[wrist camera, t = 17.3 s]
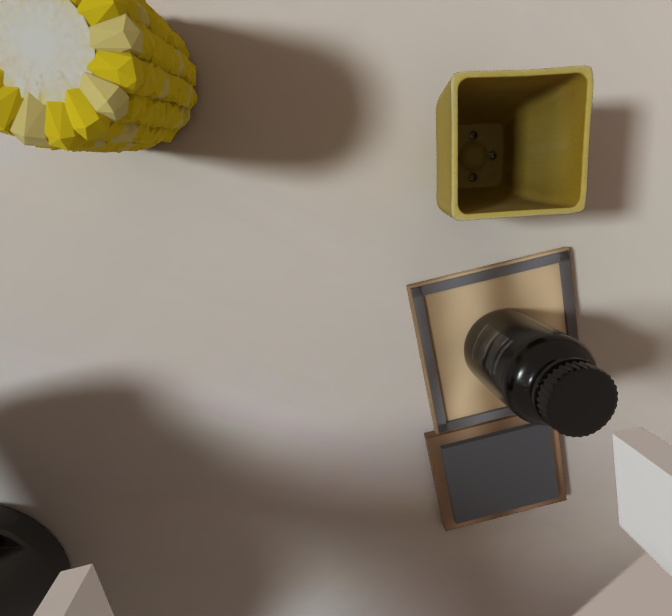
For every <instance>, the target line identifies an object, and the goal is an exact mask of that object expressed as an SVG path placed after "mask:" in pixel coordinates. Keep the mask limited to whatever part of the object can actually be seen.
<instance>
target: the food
mask: <svg viewBox="0 0 672 616" xmlns="http://www.w3.org/2000/svg"><path fill="white" fill-rule="evenodd" d="M189 56H190V53H189V52H188V50H187V48H186V43H185V42H184V41H183V40H182V39H181V37H180V36H179V35H178V34H177V33H176V32H173V30H172V29H171V27H170V26H169V25H168V24H167V23H166V21H165V20H164V19H163V18H162V17H161V16H159V15H158V14H157V13H156V12H155V11H154V9H152V8H151V7H150V6H149V5H148V4H147V3H146V1H145V0H0V132H1V133H5V134H9V135H13V136H16V137H17V138H18V139H19V140H20V141H21V142H22V143H23V144H24V145H32V146H36V147H40V148H50V149H51V150H58V149H64V150H67V151H69V150H71V151H73V152H76V151H79V152H80V151H87V152H89V151H90V152H118V153H120V152H122V151H138V150H143V149H148V148H151V147H153V146H156V144H158V143H160V142H168V143H171V141H172V139H173V138H174V136H175V134H176V133H177V131H178V130H179V129H180V128H182V127H183V126H185V125H186V124H187V122H188V121H189V120H190V119H191V117H190V110H191V109H192V107H193V106H194V105H195V103H196V102H197V98H198V96H197V94H196V92H195V89H194V87H193V86H196V66H195V65H194V64H193V63H192V62H191V61H190V60H189V59H188V58H189Z"/></svg>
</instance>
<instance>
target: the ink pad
mask: <svg viewBox="0 0 672 616" xmlns="http://www.w3.org/2000/svg"><path fill="white" fill-rule="evenodd" d="M440 450H441V455H442V460H443V465H444V470H445V475H446V481H447V486H448V491H449V496H450V501H451V506H452V512H453V517H454V521H455V523H456V524H458V523H462V522H466V521H470V520H474V519H478V518H481V517H485V516H489V515H493V514H497V513H501V512H505V511H509V510H513V509H517V508H520V507H524V506H528V505H532V504H536V503H540V502H544V501H548V500H552V499H555V498H559V494H558V486H557V478H556V470H555V462H554V454H553V446H552V438H551V430H550V426H541V425H535V424H531V423H529V424H525V425H521V426H517V427H513V428H509V429H505V430H501V431H497V432H493V433H489V434H485V435H481V436H477V437H473V438H469V439H465V440H461V441H457V442H453V443H449V444H445V445H441V446H440Z"/></svg>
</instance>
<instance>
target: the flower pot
mask: <svg viewBox="0 0 672 616" xmlns="http://www.w3.org/2000/svg"><path fill="white" fill-rule="evenodd" d="M592 99H593V73H592V68H591V67H590V66H569V67H559V68H544V69H530V70H502V71H464V72H457V73H455V74H454V75H453V76H452V78H451V80H450V81H449V83H448V84H447V86H446V87H445V89H444V90H443V92H442V94H441V95H440V97H439V99H438V102H437V106H436V141H437V204H438V207H439V208H440V209H441V210H442V211H443V212H444V213H446V214H447V215H449V216H450V217H452V218H454V219H455V220H458V221H467V220H478V219H491V218H505V217H521V216H536V215H557V214H571V213H578V212H581V211H582V210H584V208H585V203H586V193H587V172H588V155H589V138H590V123H591V112H592ZM471 132H475V133H476V137H475V139H471V138H470V137H469V134H470V133H471ZM490 152H494V153H495V158H494V159H490V158H489V153H490ZM471 174H474V175H475V177H476V178H475V180H474V181H470V180H469V176H470V175H471Z"/></svg>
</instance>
